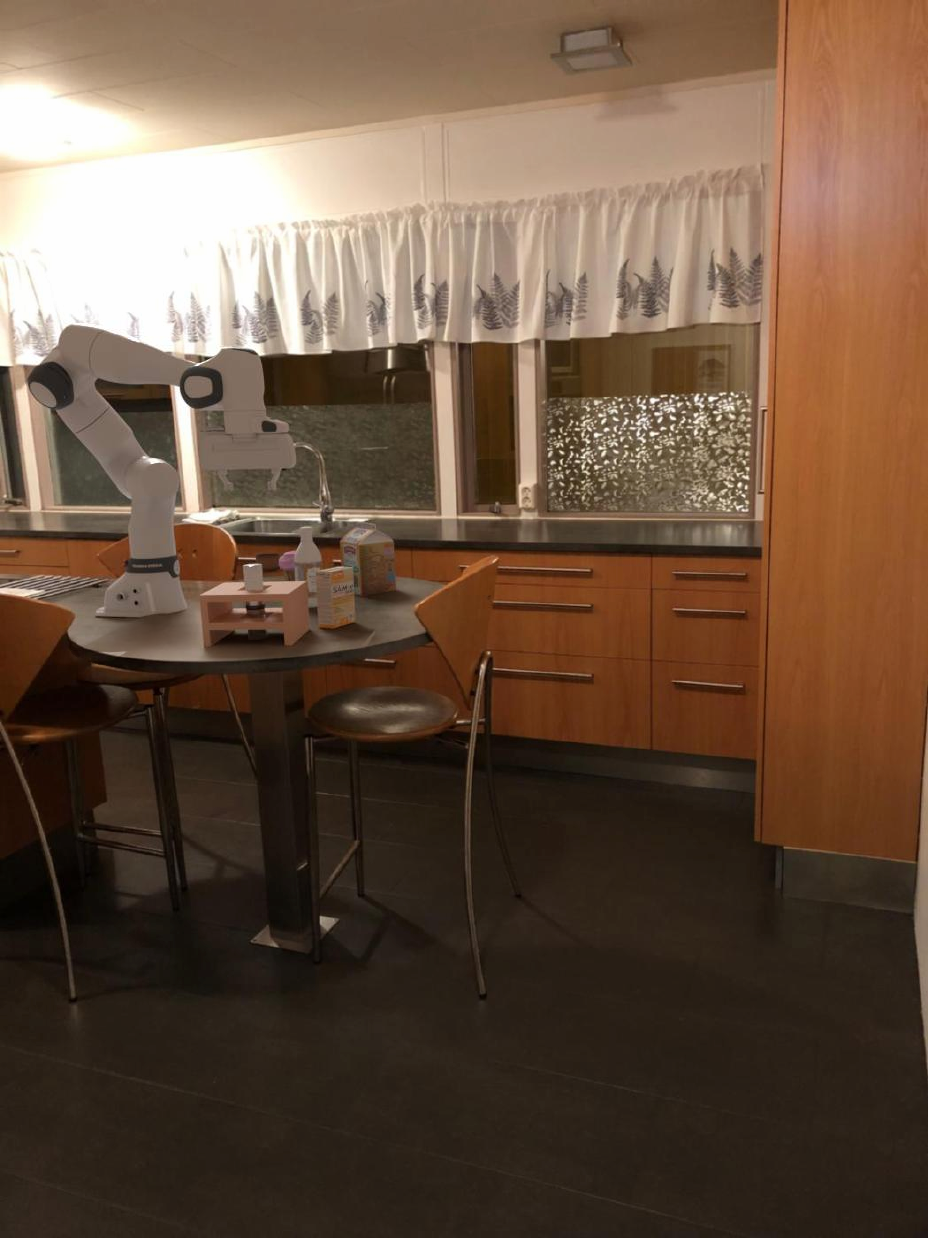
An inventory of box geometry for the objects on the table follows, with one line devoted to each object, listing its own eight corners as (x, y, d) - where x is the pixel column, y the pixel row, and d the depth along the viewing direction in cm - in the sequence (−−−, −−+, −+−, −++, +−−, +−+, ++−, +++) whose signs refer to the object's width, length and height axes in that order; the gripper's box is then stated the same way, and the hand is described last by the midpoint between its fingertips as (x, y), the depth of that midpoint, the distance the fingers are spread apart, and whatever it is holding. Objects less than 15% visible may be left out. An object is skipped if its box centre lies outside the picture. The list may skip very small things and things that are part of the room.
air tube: (245, 639, 213) (239, 566, 210) (251, 635, 217) (245, 563, 214) (264, 639, 213) (259, 566, 210) (269, 635, 217) (264, 563, 214)
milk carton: (396, 593, 264) (392, 522, 260) (361, 598, 258) (357, 526, 255) (376, 588, 273) (373, 519, 269) (342, 592, 267) (338, 523, 263)
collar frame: (203, 646, 208) (199, 595, 206) (228, 630, 224) (224, 582, 222) (291, 645, 207) (288, 593, 204) (309, 628, 222) (306, 580, 220)
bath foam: (304, 609, 245) (298, 529, 241) (292, 605, 251) (287, 527, 247) (329, 605, 249) (324, 527, 245) (317, 602, 255) (312, 524, 251)
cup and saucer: (272, 570, 312) (271, 551, 311) (296, 573, 304) (295, 554, 303) (241, 576, 303) (239, 556, 302) (265, 579, 295) (263, 559, 294)
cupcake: (276, 587, 279) (273, 552, 277) (286, 582, 287) (284, 548, 285) (306, 587, 277) (304, 552, 275) (315, 582, 286) (313, 548, 284)
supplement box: (334, 629, 221) (330, 571, 218) (317, 627, 223) (314, 570, 221) (357, 622, 228) (353, 566, 225) (340, 620, 230) (337, 565, 228)
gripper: (193, 426, 206) (198, 492, 209) (288, 423, 205) (292, 490, 208) (203, 426, 213) (208, 490, 215) (296, 423, 211) (300, 488, 214)
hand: (250, 490), depth 211 cm, fingers open, 8 cm apart
